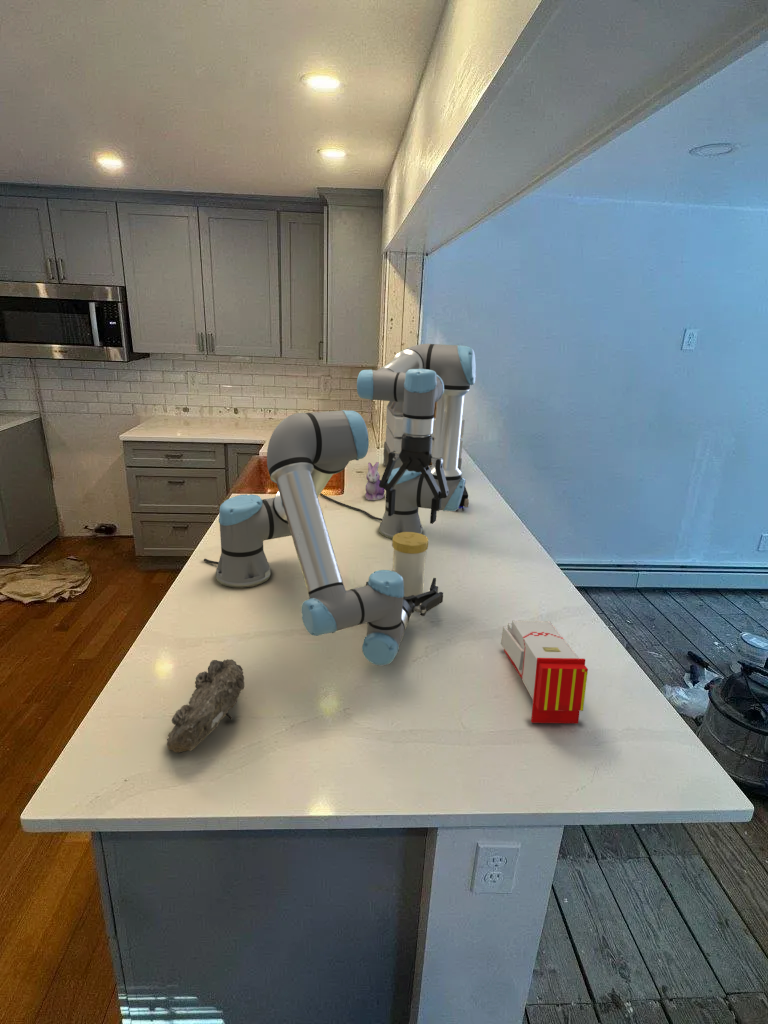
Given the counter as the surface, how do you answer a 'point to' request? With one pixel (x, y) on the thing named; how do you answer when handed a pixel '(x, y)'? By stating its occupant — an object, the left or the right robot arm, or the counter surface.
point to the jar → (410, 571)
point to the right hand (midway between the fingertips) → (411, 518)
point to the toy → (547, 670)
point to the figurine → (373, 483)
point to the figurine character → (464, 500)
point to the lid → (410, 542)
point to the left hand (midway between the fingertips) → (409, 578)
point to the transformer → (395, 433)
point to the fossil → (206, 705)
